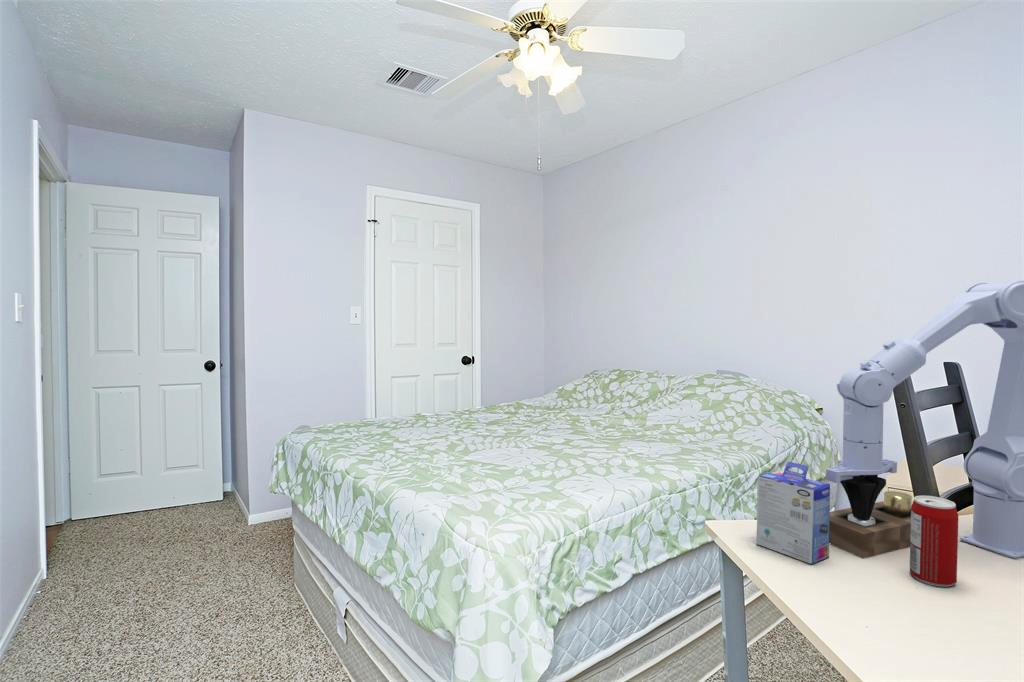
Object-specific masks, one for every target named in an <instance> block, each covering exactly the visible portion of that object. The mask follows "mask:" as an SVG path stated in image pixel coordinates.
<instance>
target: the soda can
mask: <svg viewBox="0 0 1024 682" xmlns="http://www.w3.org/2000/svg"><path fill="white" fill-rule="evenodd" d="M958 544H959V514H958V510H957V505H956V503H955V502H954V501H951V500H949V499H947V498H943V497H939V496H934V495H916V496H914V497H913V501H912V506H911V538H910V547H909V548H910V549H909V572H910V573H911V575H912V576H913V577H914V578H915V579H916V580H917V581H919V582H921V583H924V584H927V585H930V586H934V587H942V588H949V587H952V586H953V585H954V584H956V583H957V579H958V578H957V577H958V549H959V548H958Z"/></svg>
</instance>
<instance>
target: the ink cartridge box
mask: <svg viewBox="0 0 1024 682" xmlns="http://www.w3.org/2000/svg"><path fill="white" fill-rule="evenodd" d="M785 464H786V465H785V467H784V469H783V472H779V471H769V472H766V473H763V474H760V475H758V476H757V494H756V495H757V497H756V498H757V501H756V502H757V503H756V536H755V537H756V539H755V540H756V541H755V542H756V545H758V546H762V547H763V548H767V549H769V550H772V551H775V552H777V553H779V554H783V555H785V556H788V557H791V558H794V559H796V560H799V561H803V563H807V564H810V565H813V564H815V563H819V562H820V561H822V560H825V559H828V558H830V544H829V513H830V512H831V511H830V506H831V505H830V504H831V503H830V502H831V501H830V500H831V483H828V482H823V481H819V480H815V479H810V478H807V474H808V470H809V465H804V464H800V463H796V462H791V461H787V463H785ZM790 468H797V469H800V470H801V471H802V473H799V472H796V471H792V470H790Z"/></svg>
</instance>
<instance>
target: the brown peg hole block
mask: <svg viewBox="0 0 1024 682" xmlns="http://www.w3.org/2000/svg"><path fill="white" fill-rule="evenodd" d="M849 514H853V513H852V509H851V507H847V508H844V509H838V510H833V511H830V513H829V543H831V544H830V545H832V544H833V545H832V546H834V547H837V548H839V549H841V550H843V551H846V552H848V553H850V554H852V553H853V555H855V556H857V557H859V558H861V559H866V558H870V557H874V556H879V555H883V554H887V553H890V552H895V551H898V550H903V549H907V548H910V538H911V516H910V517H905V518H900V517H897V516H894V515H891V514H888V513H885V512H884V500H883V501H876V502H875V504H874V507H873V510H872V513H871V517H873V518H874V519H875V524H873V525H869V526H863V525H860V524H858V523H855V522H852V521H850V520H848V515H849Z"/></svg>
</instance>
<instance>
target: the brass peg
mask: <svg viewBox="0 0 1024 682" xmlns="http://www.w3.org/2000/svg"><path fill="white" fill-rule="evenodd" d="M912 498H913V497H912V495H911V494H909V493H905V492H902V491H901V492H900V491H896V490H887V491H884V492H883V501H884V512H885V513H888V514H891V515H894V516H897V517H900V518H905V517H910V516H911V506H912V503H913V501H912Z"/></svg>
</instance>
